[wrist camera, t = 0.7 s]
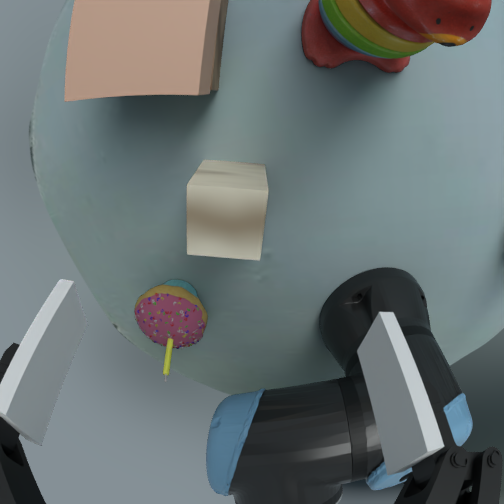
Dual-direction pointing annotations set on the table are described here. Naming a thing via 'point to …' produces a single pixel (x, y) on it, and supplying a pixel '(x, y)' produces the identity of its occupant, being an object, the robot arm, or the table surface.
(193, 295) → the cupcake
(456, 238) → the table surface
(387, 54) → the stacking bear
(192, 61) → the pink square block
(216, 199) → the birch block
